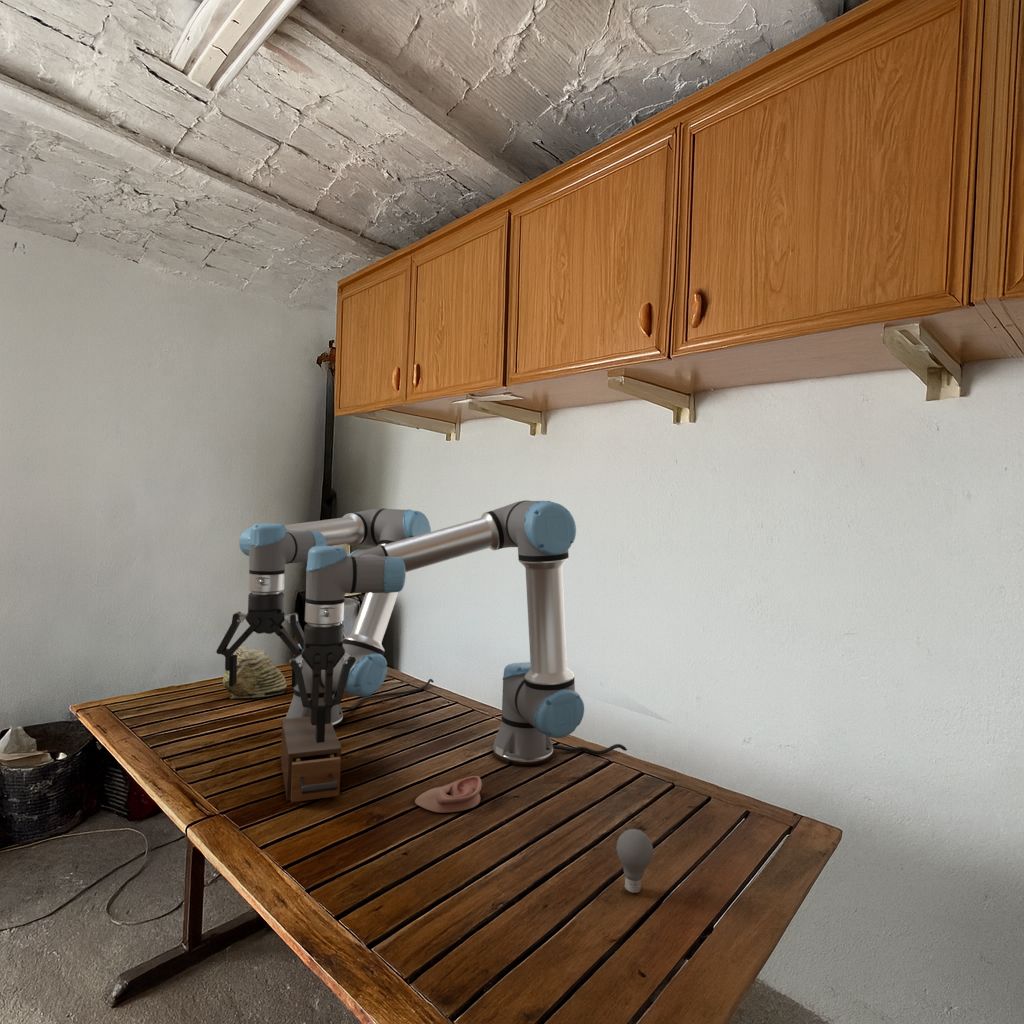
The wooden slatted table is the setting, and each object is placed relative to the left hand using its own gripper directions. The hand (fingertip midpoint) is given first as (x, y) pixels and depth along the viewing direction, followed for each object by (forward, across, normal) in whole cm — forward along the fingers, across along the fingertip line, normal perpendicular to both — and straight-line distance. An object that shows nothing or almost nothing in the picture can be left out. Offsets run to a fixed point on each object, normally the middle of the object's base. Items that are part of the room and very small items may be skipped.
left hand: (263, 685), depth 144 cm
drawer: (+19, +13, -8) cm, 24 cm away
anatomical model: (+20, +42, -14) cm, 49 cm away
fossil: (+20, -18, +56) cm, 62 cm away
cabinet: (+20, +11, -2) cm, 23 cm away
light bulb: (+20, +73, -46) cm, 89 cm away
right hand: (+5, +16, -18) cm, 25 cm away
